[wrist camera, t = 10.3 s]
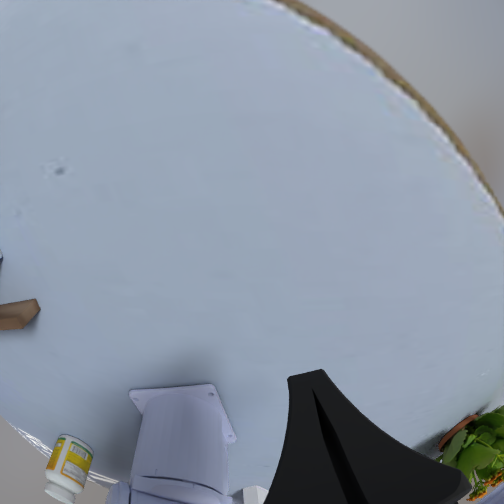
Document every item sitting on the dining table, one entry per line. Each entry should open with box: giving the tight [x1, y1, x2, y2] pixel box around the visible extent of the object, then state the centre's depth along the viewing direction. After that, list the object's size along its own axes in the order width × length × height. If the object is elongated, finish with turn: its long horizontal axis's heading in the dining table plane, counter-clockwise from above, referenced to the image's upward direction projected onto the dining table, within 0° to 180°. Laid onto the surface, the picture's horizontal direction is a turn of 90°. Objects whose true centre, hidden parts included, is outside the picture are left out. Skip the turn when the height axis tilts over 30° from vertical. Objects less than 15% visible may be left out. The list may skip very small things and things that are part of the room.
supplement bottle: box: [45, 435, 93, 504], centre depth 21 cm, size 5×5×10 cm
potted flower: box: [435, 405, 504, 501], centre depth 25 cm, size 25×24×18 cm
